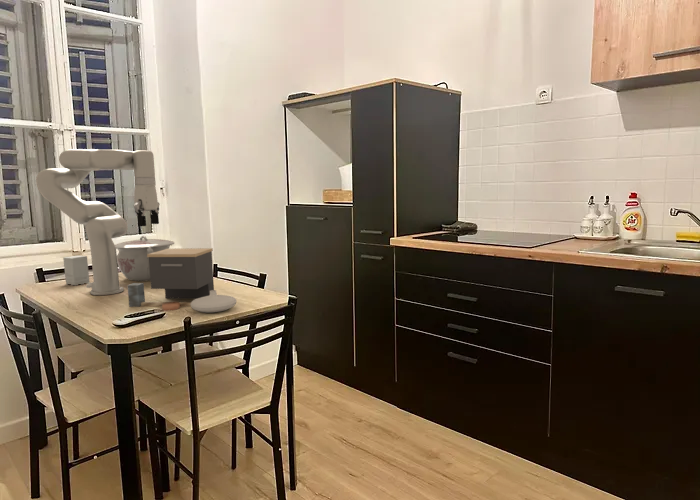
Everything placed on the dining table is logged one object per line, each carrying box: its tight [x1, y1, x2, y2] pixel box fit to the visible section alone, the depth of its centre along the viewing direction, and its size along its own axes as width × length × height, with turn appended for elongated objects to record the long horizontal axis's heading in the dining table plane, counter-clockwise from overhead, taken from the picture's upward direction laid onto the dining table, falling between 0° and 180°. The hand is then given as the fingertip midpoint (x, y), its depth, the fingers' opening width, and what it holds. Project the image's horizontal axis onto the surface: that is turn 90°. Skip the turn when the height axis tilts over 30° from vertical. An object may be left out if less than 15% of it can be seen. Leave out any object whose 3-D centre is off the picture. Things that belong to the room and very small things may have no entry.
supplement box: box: [63, 255, 90, 286], centre depth 229 cm, size 7×7×13 cm
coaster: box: [161, 301, 181, 312], centre depth 180 cm, size 6×6×2 cm
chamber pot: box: [114, 235, 175, 282], centre depth 237 cm, size 28×28×21 cm
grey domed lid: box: [190, 289, 237, 313], centre depth 176 cm, size 16×16×7 cm
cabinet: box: [147, 247, 215, 300], centre depth 191 cm, size 19×16×19 cm
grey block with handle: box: [127, 282, 192, 308], centre depth 184 cm, size 23×4×8 cm, turn 82°
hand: (148, 225), depth 201 cm, fingers open, 9 cm apart
